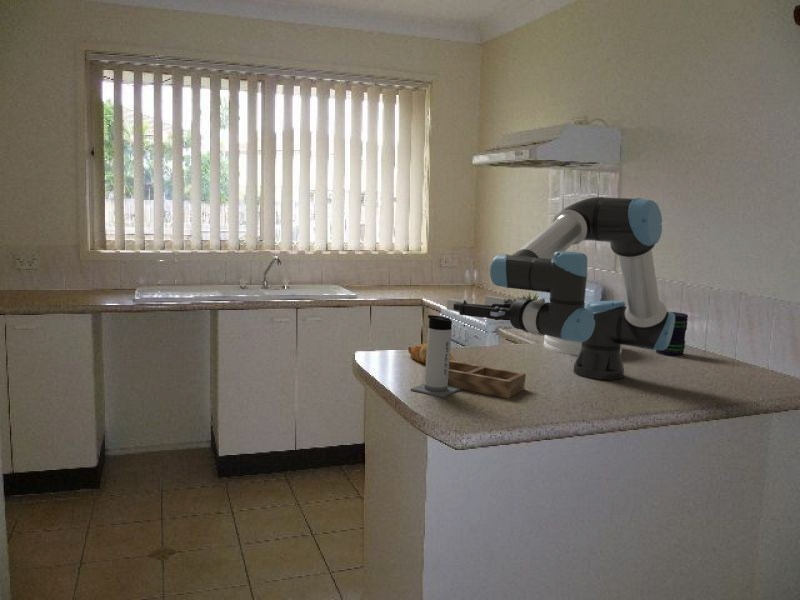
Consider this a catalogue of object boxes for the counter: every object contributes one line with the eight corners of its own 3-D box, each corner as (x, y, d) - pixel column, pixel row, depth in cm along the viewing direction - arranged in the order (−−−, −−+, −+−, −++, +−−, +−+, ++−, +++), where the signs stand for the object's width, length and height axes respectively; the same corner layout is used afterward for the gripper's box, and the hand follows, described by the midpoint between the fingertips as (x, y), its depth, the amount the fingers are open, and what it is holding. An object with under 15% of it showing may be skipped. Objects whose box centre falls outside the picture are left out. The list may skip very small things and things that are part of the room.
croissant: (460, 379, 219) (470, 355, 220) (441, 367, 212) (452, 343, 213) (413, 363, 234) (423, 342, 235) (394, 352, 227) (404, 330, 229)
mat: (460, 389, 192) (460, 388, 192) (443, 397, 183) (443, 395, 183) (428, 383, 197) (428, 381, 197) (410, 390, 188) (410, 388, 188)
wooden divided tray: (524, 389, 196) (525, 373, 196) (508, 398, 186) (509, 381, 185) (444, 374, 209) (445, 359, 208) (425, 381, 199) (426, 366, 198)
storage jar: (654, 354, 256) (659, 314, 254) (655, 349, 265) (659, 310, 263) (684, 358, 253) (688, 317, 250) (684, 353, 262) (688, 313, 260)
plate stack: (636, 357, 250) (640, 325, 248) (565, 357, 243) (568, 325, 241) (596, 341, 277) (598, 312, 275) (531, 341, 270) (533, 311, 268)
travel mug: (421, 384, 193) (426, 313, 190) (445, 385, 193) (450, 314, 190) (424, 391, 187) (429, 317, 184) (449, 392, 187) (454, 318, 184)
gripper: (566, 296, 170) (501, 285, 187) (495, 303, 155) (431, 290, 171) (564, 326, 172) (500, 313, 188) (493, 336, 156) (430, 320, 172)
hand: (467, 302), depth 179 cm, fingers open, 13 cm apart
